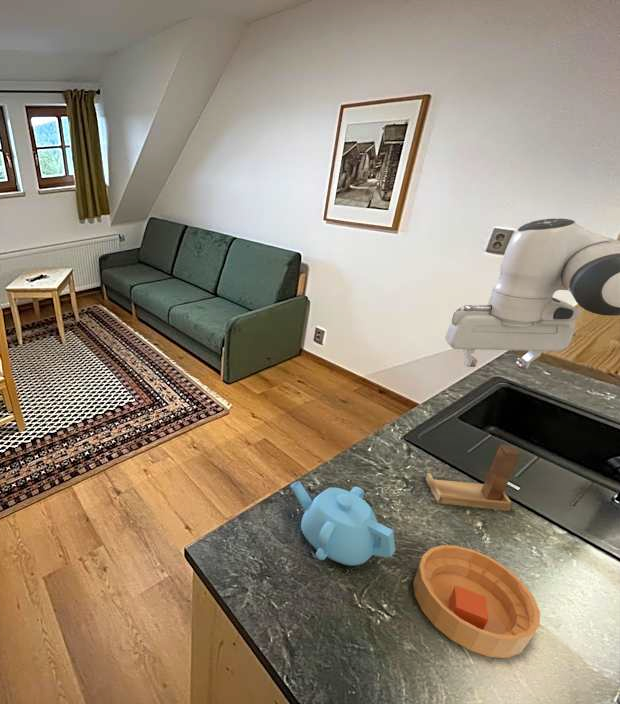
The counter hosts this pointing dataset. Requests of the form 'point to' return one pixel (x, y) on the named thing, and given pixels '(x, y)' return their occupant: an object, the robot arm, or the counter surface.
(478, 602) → the block
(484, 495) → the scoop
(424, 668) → the counter surface
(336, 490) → the teapot
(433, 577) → the bowl
